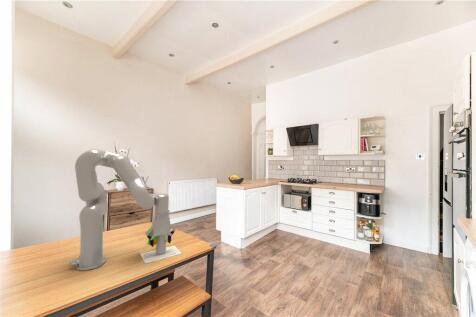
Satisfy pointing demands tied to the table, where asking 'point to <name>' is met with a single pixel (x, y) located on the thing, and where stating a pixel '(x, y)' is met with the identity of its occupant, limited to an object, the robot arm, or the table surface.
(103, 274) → the table surface
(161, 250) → the salt shaker
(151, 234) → the puzzle toy
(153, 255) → the letter
